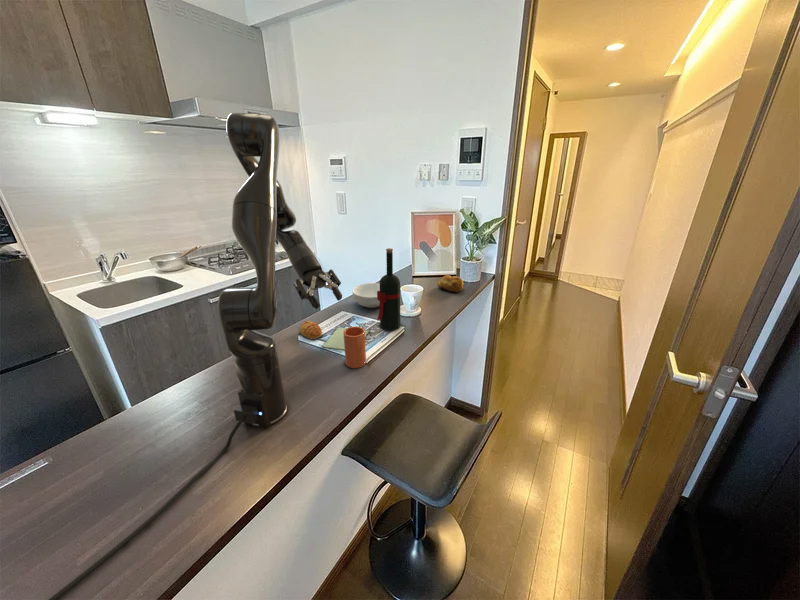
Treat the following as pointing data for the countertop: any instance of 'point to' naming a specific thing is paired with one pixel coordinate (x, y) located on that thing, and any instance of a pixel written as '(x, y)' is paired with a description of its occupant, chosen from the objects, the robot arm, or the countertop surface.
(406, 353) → the countertop surface
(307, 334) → the pastry
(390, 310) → the wine bottle
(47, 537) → the countertop surface
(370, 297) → the cereal bowl
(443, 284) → the bread roll
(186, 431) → the countertop surface
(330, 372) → the countertop surface
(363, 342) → the cup
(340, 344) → the board
